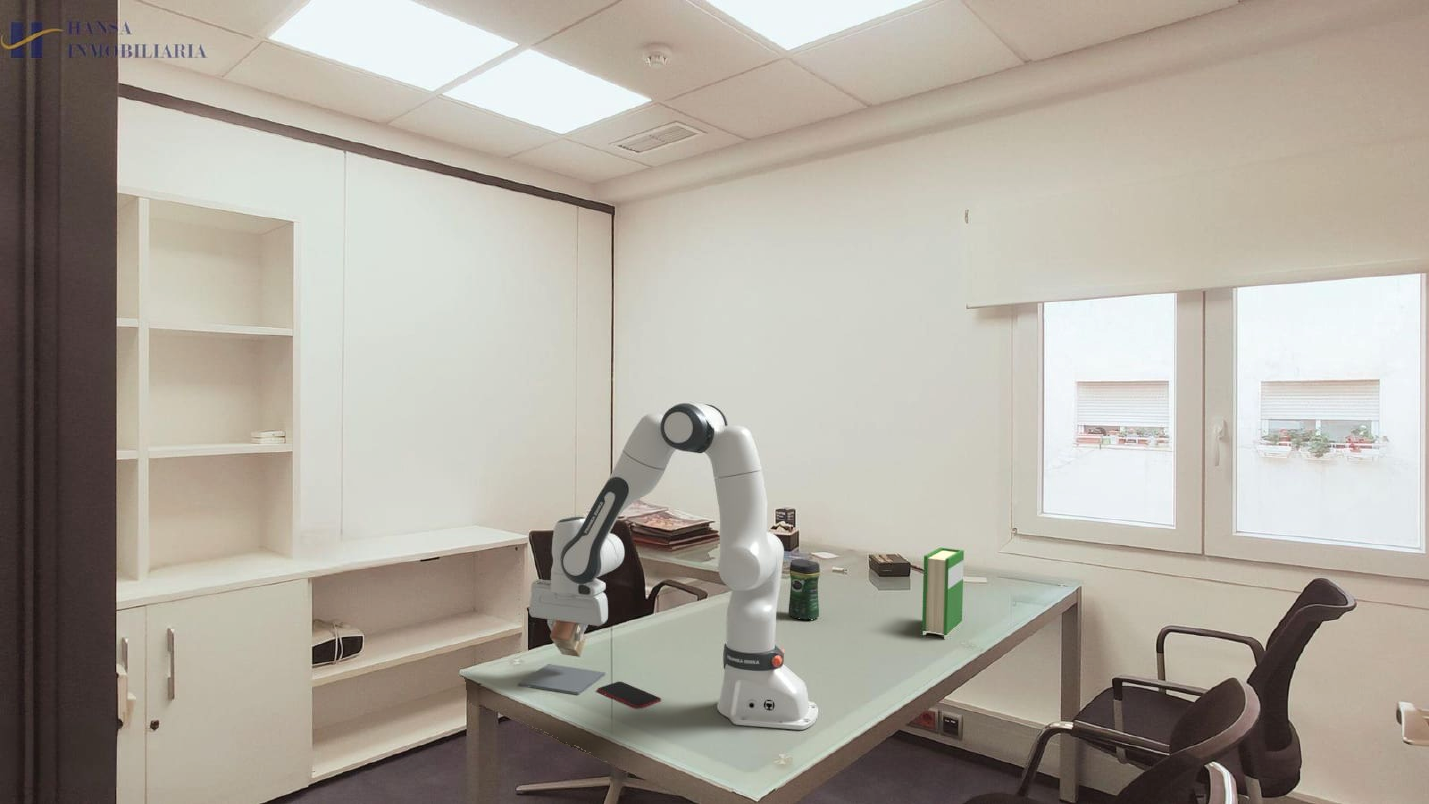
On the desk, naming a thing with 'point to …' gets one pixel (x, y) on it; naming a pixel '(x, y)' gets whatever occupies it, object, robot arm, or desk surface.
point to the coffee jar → (804, 589)
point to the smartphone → (629, 694)
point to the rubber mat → (562, 679)
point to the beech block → (567, 638)
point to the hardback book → (942, 590)
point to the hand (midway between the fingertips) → (567, 638)
